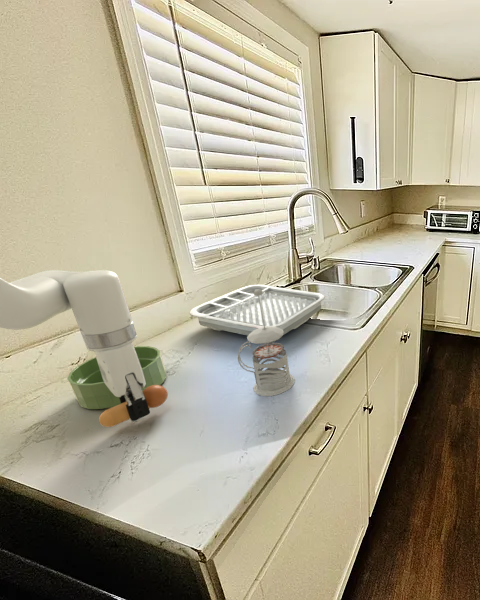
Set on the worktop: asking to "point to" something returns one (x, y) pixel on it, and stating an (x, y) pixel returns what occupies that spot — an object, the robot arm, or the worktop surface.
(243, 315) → the dish rack
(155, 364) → the green shallow bowl
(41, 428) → the worktop surface
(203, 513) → the worktop surface
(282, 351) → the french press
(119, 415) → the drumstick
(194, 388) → the worktop surface
